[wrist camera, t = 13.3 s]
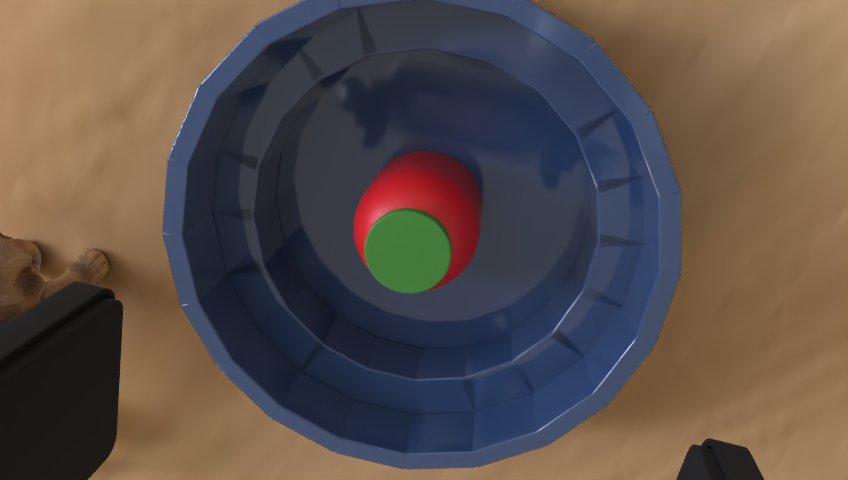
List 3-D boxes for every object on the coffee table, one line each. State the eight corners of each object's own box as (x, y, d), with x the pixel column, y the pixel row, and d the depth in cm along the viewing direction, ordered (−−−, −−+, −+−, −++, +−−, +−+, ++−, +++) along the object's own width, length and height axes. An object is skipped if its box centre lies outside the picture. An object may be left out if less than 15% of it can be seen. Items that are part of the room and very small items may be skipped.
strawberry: (493, 164, 22) (492, 203, 18) (468, 270, 24) (460, 330, 19) (380, 139, 22) (350, 171, 18) (360, 245, 24) (328, 300, 19)
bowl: (705, 35, 21) (764, 44, 16) (578, 422, 26) (594, 515, 21) (254, -62, 21) (183, -80, 17) (212, 336, 26) (149, 409, 21)
